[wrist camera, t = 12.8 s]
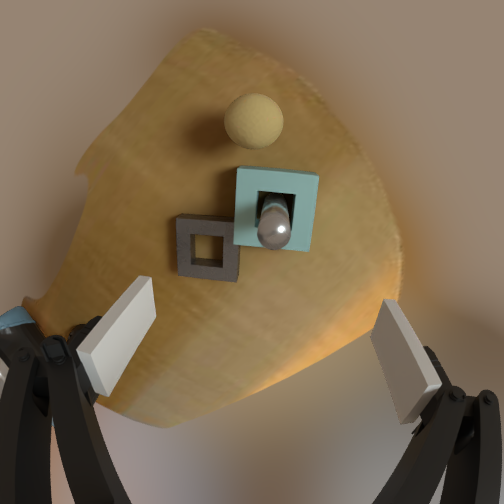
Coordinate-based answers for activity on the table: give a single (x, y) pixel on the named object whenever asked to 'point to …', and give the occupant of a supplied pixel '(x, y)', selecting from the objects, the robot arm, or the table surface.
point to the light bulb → (253, 121)
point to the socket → (282, 182)
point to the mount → (198, 266)
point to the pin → (274, 223)
